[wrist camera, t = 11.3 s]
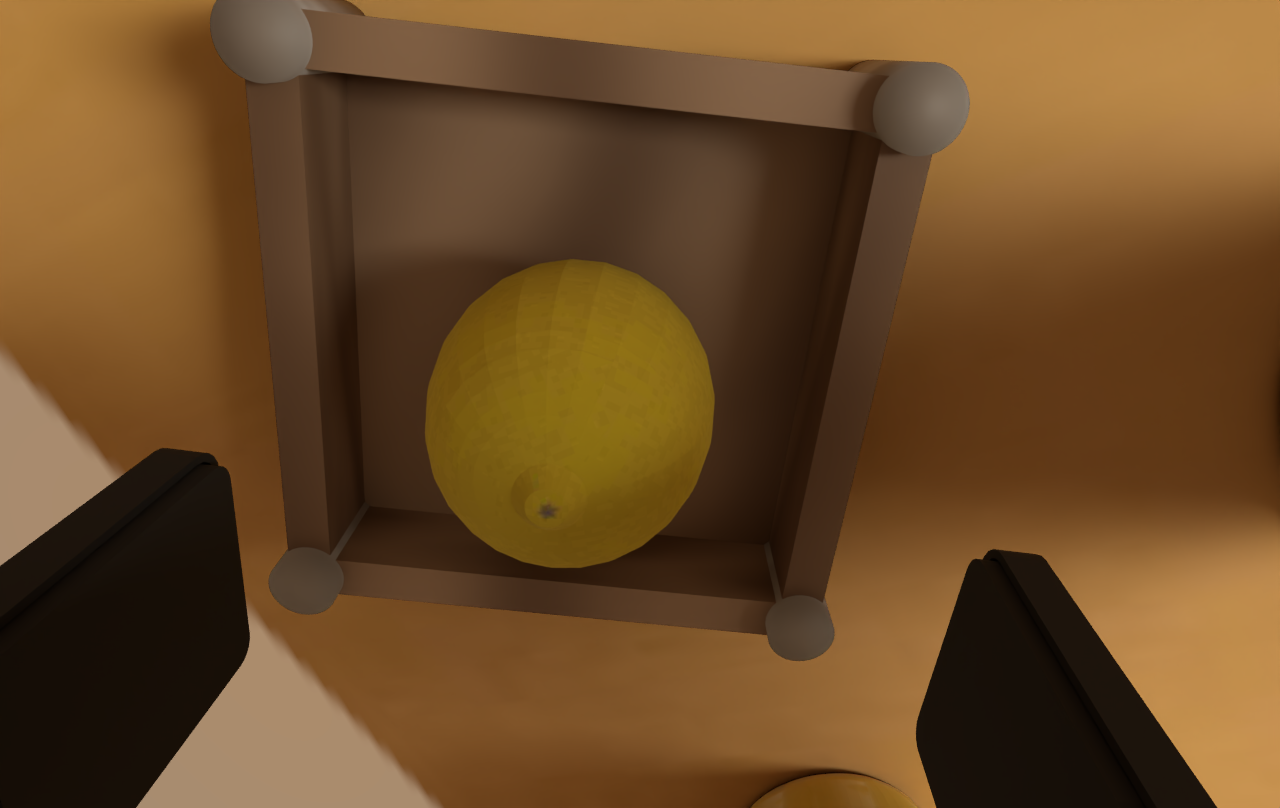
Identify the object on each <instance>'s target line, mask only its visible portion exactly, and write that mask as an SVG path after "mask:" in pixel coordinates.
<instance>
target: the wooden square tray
mask: <svg viewBox="0 0 1280 808" xmlns="http://www.w3.org/2000/svg"><path fill="white" fill-rule="evenodd" d="M210 30H211V36H212V40H213V43H214V46H215V48H216V50H217V52H218V54H219V56H220V57H221V59H222V60H223V61H224V63H225V64H226V65H227V66H228V67H229V68H230V69H231V70H232V71H233V72H235V73H236V74H237V75H239V76H241V77H242V78H244V79H245V82H246V93H247V104H248V115H249V126H250V137H251V148H252V159H253V170H254V181H255V192H256V203H257V213H258V224H259V235H260V246H261V257H262V268H263V279H264V290H265V301H266V312H267V323H268V334H269V345H270V356H271V367H272V378H273V389H274V400H275V411H276V422H277V433H278V444H279V455H280V466H281V477H282V488H283V499H284V510H285V521H286V532H287V543H288V550H287V551H286V552H285V554H284V555H283V556H282V558H281V559H280V560H279V562H278V563H277V564H276V566H275V567H274V569H273V570H272V571H271V573H270V576H269V588H270V591H271V593H272V595H273V597H274V598H275V599H276V600H277V602H279V603H280V604H281V605H282V606H283V607H285V608H287V609H288V610H291V611H293V612H296V613H300V614H308V615H310V614H318V613H321V612H323V611H325V610H327V609H328V608H329V607H330V606H331V605H332V604H333V602H334V601H335V599H336V597H337V595H338V594H344V595H354V596H365V597H375V598H386V599H396V600H407V601H417V602H428V603H438V604H449V605H459V606H469V607H480V608H490V609H501V610H511V611H522V612H532V613H543V614H553V615H564V616H574V617H585V618H595V619H605V620H616V621H626V622H637V623H647V624H658V625H668V626H679V627H689V628H700V629H710V630H721V631H731V632H742V633H752V634H762V635H767V636H768V641H769V644H770V646H771V648H772V649H773V651H774V652H775V653H776V654H778V655H779V656H781V657H783V658H785V659H788V660H793V661H805V660H810V659H813V658H816V657H818V656H820V655H821V654H823V653H824V652H825V651H826V650H827V649H828V648H829V647H830V646H831V644H832V642H833V639H834V627H833V623H832V620H831V617H830V614H829V610H828V607H827V604H826V601H825V597H824V596H825V592H826V588H827V584H828V579H829V575H830V571H831V567H832V563H833V559H834V555H835V551H836V547H837V542H838V538H839V534H840V530H841V526H842V522H843V518H844V514H845V510H846V506H847V501H848V497H849V493H850V489H851V485H852V481H853V477H854V473H855V469H856V465H857V460H858V456H859V452H860V448H861V444H862V440H863V436H864V432H865V428H866V424H867V419H868V415H869V411H870V407H871V403H872V399H873V395H874V391H875V387H876V383H877V378H878V374H879V370H880V366H881V362H882V358H883V354H884V350H885V346H886V341H887V337H888V333H889V329H890V325H891V321H892V317H893V313H894V309H895V305H896V300H897V296H898V292H899V288H900V284H901V280H902V276H903V272H904V268H905V264H906V259H907V255H908V251H909V247H910V243H911V239H912V235H913V231H914V227H915V223H916V218H917V214H918V210H919V206H920V202H921V198H922V194H923V190H924V186H925V182H926V177H927V173H928V169H929V165H930V161H931V157H932V154H934V153H937V152H939V151H941V150H942V149H944V148H945V147H947V146H948V145H949V144H951V143H952V142H953V141H954V140H955V139H956V137H957V136H958V135H959V134H960V132H961V130H962V129H963V127H964V125H965V123H966V120H967V117H968V113H969V105H970V101H969V93H968V89H967V86H966V84H965V82H964V80H963V79H962V77H961V76H960V75H959V74H958V73H957V72H956V71H955V70H954V69H952V68H951V67H949V66H947V65H944V64H941V63H936V62H913V61H889V60H868V61H864V62H861V63H859V64H857V65H855V66H853V67H852V68H851V69H850V70H848V71H842V70H833V69H824V68H815V67H806V66H798V65H789V64H780V63H771V62H763V61H754V60H745V59H736V58H728V57H719V56H710V55H701V54H692V53H684V52H675V51H666V50H657V49H649V48H640V47H631V46H622V45H613V44H605V43H596V42H587V41H578V40H570V39H561V38H552V37H543V36H534V35H526V34H517V33H508V32H499V31H491V30H482V29H473V28H464V27H456V26H447V25H438V24H429V23H420V22H412V21H403V20H394V19H385V18H377V17H368V16H365V15H364V14H363V12H362V11H361V10H360V9H359V8H357V7H356V6H355V5H353V4H352V3H350V2H348V1H346V0H216V2H215V4H214V6H213V9H212V13H211V18H210ZM568 259H578V260H587V261H597V262H606V263H609V264H611V265H614V266H617V267H620V268H623V269H625V270H628V271H631V272H634V273H636V274H638V275H640V276H641V277H643V278H644V279H646V280H647V281H649V282H650V283H651V284H653V285H654V286H656V287H657V288H659V289H660V290H662V291H663V292H665V293H666V295H667V296H668V297H669V298H670V299H671V300H672V301H673V302H674V304H675V305H676V306H677V307H678V308H679V309H680V310H681V312H682V313H683V314H684V315H685V316H686V317H687V318H688V320H689V321H690V323H691V325H692V327H693V329H694V331H695V333H696V335H697V337H698V339H699V341H700V343H701V345H702V347H703V349H704V351H705V353H706V355H707V359H708V364H709V369H710V375H711V380H712V385H713V390H714V397H715V403H714V416H713V429H712V438H711V444H710V447H709V450H708V453H707V456H706V459H705V461H704V464H703V467H702V470H701V472H700V475H699V478H698V481H697V483H696V485H695V487H694V489H693V491H692V493H691V494H690V496H689V497H688V499H687V500H686V501H685V503H684V504H683V505H682V507H681V508H680V510H679V511H678V512H677V514H676V515H675V516H674V518H673V519H672V521H671V522H670V523H669V524H668V525H667V526H666V527H665V528H663V529H662V530H661V531H660V532H659V533H657V534H656V535H655V536H654V537H652V538H651V539H650V540H649V541H648V542H646V543H645V544H644V545H643V546H641V547H639V548H637V549H635V550H633V551H631V552H629V553H627V554H625V555H623V556H621V557H619V558H616V559H614V560H612V561H609V562H605V563H600V564H595V565H591V566H586V567H582V568H550V567H545V566H540V565H535V564H530V563H525V562H522V561H520V560H517V559H515V558H513V557H510V556H508V555H506V554H503V553H501V552H499V551H497V550H495V549H494V548H492V547H491V546H489V545H488V544H487V543H485V542H484V541H483V540H481V539H480V538H478V537H477V536H476V535H474V534H473V533H472V532H471V531H470V530H469V529H468V528H467V527H466V525H465V524H464V523H463V522H462V521H461V520H460V519H459V517H458V516H457V515H456V514H455V513H454V512H453V511H452V509H451V508H450V507H449V506H448V504H447V502H446V500H445V498H444V496H443V494H442V492H441V490H440V489H439V487H438V485H437V483H436V481H435V479H434V475H433V472H432V468H431V463H430V459H429V454H428V450H427V445H426V440H425V423H426V404H427V391H428V386H429V382H430V379H431V376H432V373H433V370H434V368H435V365H436V362H437V359H438V356H439V353H440V350H441V348H442V345H443V343H444V341H445V339H446V338H447V336H448V335H449V333H450V332H451V330H452V329H453V328H454V326H455V325H456V323H457V322H458V321H459V319H460V318H461V317H462V315H463V314H464V312H465V311H466V310H467V308H468V307H469V306H470V305H471V304H472V303H473V302H474V301H475V300H477V299H478V298H479V297H481V296H482V295H483V294H484V293H486V292H487V291H488V290H489V289H491V288H492V287H493V286H494V285H496V284H497V283H498V282H499V281H501V280H502V279H504V278H506V277H508V276H511V275H513V274H515V273H518V272H520V271H522V270H525V269H527V268H529V267H532V266H534V265H536V264H540V263H547V262H554V261H561V260H568Z"/></svg>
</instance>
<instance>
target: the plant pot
mask: <svg viewBox="0 0 1280 808" xmlns="http://www.w3.org/2000/svg"><path fill="white" fill-rule="evenodd" d="M751 808H918V807H917V805H916V804H915V803H914V802H913V801H912V800H911V799H910V798H909V797H907V796H906V795H905V794H904V793H902V792H901V791H899V790H898V789H896V788H894V787H893V786H891V785H889V784H887V783H884V782H882V781H879V780H876V779H874V778H871V777H867V776H862V775H857V774H845V773H831V774H821V775H813V776H808V777H804V778H800V779H797V780H794V781H791V782H788V783H786V784H783V785H781V786H779V787H777V788H775V789H773V790H772V791H770V792H768V793H767V794H765V795H764V796H763V797H761V798H760V799H759V800H758V801H757V802H755V803H754V804H753V805H752V806H751Z"/></svg>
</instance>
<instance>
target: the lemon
mask: <svg viewBox="0 0 1280 808" xmlns="http://www.w3.org/2000/svg"><path fill="white" fill-rule="evenodd" d="M714 403H715V397H714V390H713V385H712V380H711V375H710V369H709V364H708V359H707V355H706V353H705V351H704V349H703V347H702V345H701V343H700V341H699V339H698V337H697V335H696V333H695V331H694V329H693V327H692V325H691V323H690V321H689V320H688V318H687V317H686V316H685V315H684V314H683V313H682V312H681V310H680V309H679V308H678V307H677V306H676V305H675V304H674V302H673V301H672V300H671V299H670V298H669V297H668V296H667V295H666V293H665V292H663V291H662V290H660V289H659V288H657V287H656V286H654V285H653V284H651V283H650V282H649V281H647V280H646V279H644V278H643V277H641V276H640V275H638V274H636V273H634V272H631V271H628V270H625V269H623V268H620V267H617V266H614V265H611V264H609V263H606V262H597V261H587V260H578V259H568V260H561V261H554V262H547V263H540V264H536V265H534V266H532V267H529V268H527V269H525V270H522V271H520V272H518V273H515V274H513V275H511V276H508V277H506V278H504V279H502V280H501V281H499V282H498V283H497V284H496V285H494V286H493V287H492V288H491V289H489V290H488V291H487V292H486V293H484V294H483V295H482V296H481V297H479V298H478V299H477V300H475V301H474V302H473V303H472V304H471V305H470V306H469V307H468V308H467V310H466V311H465V312H464V314H463V315H462V317H461V318H460V319H459V321H458V322H457V323H456V325H455V326H454V328H453V329H452V330H451V332H450V333H449V335H448V336H447V338H446V339H445V341H444V343H443V345H442V348H441V350H440V353H439V356H438V359H437V362H436V365H435V368H434V370H433V373H432V376H431V379H430V382H429V386H428V391H427V404H426V423H425V440H426V445H427V450H428V454H429V459H430V463H431V468H432V472H433V475H434V479H435V481H436V483H437V485H438V487H439V489H440V490H441V492H442V494H443V496H444V498H445V500H446V502H447V504H448V506H449V507H450V508H451V509H452V511H453V512H454V513H455V514H456V515H457V516H458V517H459V519H460V520H461V521H462V522H463V523H464V524H465V525H466V527H467V528H468V529H469V530H470V531H471V532H472V533H473V534H474V535H476V536H477V537H478V538H480V539H481V540H483V541H484V542H485V543H487V544H488V545H489V546H491V547H492V548H494V549H495V550H497V551H499V552H501V553H503V554H506V555H508V556H510V557H513V558H515V559H517V560H520V561H522V562H525V563H530V564H535V565H540V566H545V567H550V568H582V567H586V566H591V565H595V564H600V563H605V562H609V561H612V560H614V559H616V558H619V557H621V556H623V555H625V554H627V553H629V552H631V551H633V550H635V549H637V548H639V547H641V546H643V545H644V544H645V543H646V542H648V541H649V540H650V539H651V538H652V537H654V536H655V535H656V534H657V533H659V532H660V531H661V530H662V529H663V528H665V527H666V526H667V525H668V524H669V523H670V522H671V521H672V519H673V518H674V516H675V515H676V514H677V512H678V511H679V510H680V508H681V507H682V505H683V504H684V503H685V501H686V500H687V499H688V497H689V496H690V494H691V493H692V491H693V489H694V487H695V485H696V483H697V481H698V478H699V475H700V472H701V470H702V467H703V464H704V461H705V459H706V456H707V453H708V450H709V447H710V444H711V438H712V429H713V416H714Z"/></svg>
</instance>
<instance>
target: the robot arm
mask: <svg viewBox="0 0 1280 808" xmlns="http://www.w3.org/2000/svg"><path fill="white" fill-rule="evenodd" d="M249 641H250V632H249V624H248V616H247V608H246V600H245V592H244V584H243V576H242V568H241V559H240V551H239V543H238V535H237V527H236V519H235V511H234V503H233V495H232V487H231V479H230V475H229V472H228V471H227V469H226V468H224V467H222V466H218V462H217V461H216V459H215V457H214V456H212V455H211V454H209V453H201V452H193V451H185V450H177V449H169V448H161V449H159V450H157V451H155V452H153V453H152V454H151V455H149V456H148V457H146V458H145V459H144V460H142V461H141V462H140V463H138V464H137V465H136V466H134V467H133V468H132V469H130V470H129V471H128V472H126V473H125V474H124V475H122V476H121V477H120V478H118V479H117V480H116V481H114V482H113V483H111V484H110V485H109V486H107V487H106V488H105V489H103V490H102V491H101V492H99V493H98V494H97V495H95V496H94V497H93V498H92V499H90V500H89V501H87V502H86V503H85V504H83V505H82V506H81V507H79V508H78V509H76V510H75V511H74V512H72V513H71V514H70V515H68V516H67V517H66V518H64V519H63V520H62V521H60V522H59V523H58V524H56V525H55V526H54V527H52V528H51V529H49V530H48V531H47V532H45V533H44V534H43V535H41V536H40V537H39V538H37V539H36V540H35V541H33V542H32V543H31V544H29V545H28V546H27V547H25V548H24V549H23V550H21V551H20V552H19V553H17V554H16V555H15V556H13V557H12V558H11V559H9V560H8V561H6V562H5V563H4V564H2V565H1V566H0V808H136V807H137V806H138V804H139V803H140V802H141V800H142V799H143V798H144V796H145V795H146V793H147V792H148V791H149V789H150V788H151V787H152V785H153V784H154V783H155V781H156V780H157V779H158V777H159V776H160V774H161V773H162V772H163V770H164V769H165V768H166V766H167V765H168V764H169V762H170V761H171V760H172V758H173V757H174V756H175V754H176V753H177V752H178V750H179V749H180V747H181V746H182V745H183V743H184V742H185V741H186V739H187V738H188V737H189V735H190V734H191V732H192V731H193V730H194V728H195V727H196V726H197V724H198V723H199V722H200V720H201V719H202V717H203V716H204V715H205V713H206V712H207V711H208V709H209V708H210V707H211V705H212V704H213V702H214V701H215V700H216V699H217V697H218V696H219V694H220V693H221V692H222V690H223V689H224V688H225V686H226V685H227V684H228V682H229V681H230V680H231V678H232V677H233V676H234V674H235V673H236V671H237V670H238V669H239V667H240V666H241V664H242V663H243V661H244V659H245V656H246V654H247V651H248V647H249ZM916 741H917V747H918V752H919V755H920V758H921V761H922V764H923V767H924V770H925V773H926V777H927V780H928V783H929V786H930V789H931V792H932V795H933V798H934V801H935V805H936V808H1217V807H1216V805H1215V804H1214V802H1213V801H1212V799H1211V798H1210V796H1209V795H1208V794H1207V792H1206V791H1205V789H1204V788H1203V786H1202V785H1201V784H1200V782H1199V781H1198V779H1197V778H1196V776H1195V775H1194V773H1193V772H1192V771H1191V769H1190V768H1189V766H1188V765H1187V763H1186V762H1185V760H1184V759H1183V758H1182V756H1181V755H1180V753H1179V752H1178V750H1177V749H1176V747H1175V746H1174V745H1173V743H1172V742H1171V740H1170V739H1169V737H1168V736H1167V734H1166V733H1165V732H1164V730H1163V729H1162V727H1161V726H1160V724H1159V723H1158V721H1157V720H1156V719H1155V717H1154V716H1153V714H1152V713H1151V711H1150V710H1149V708H1148V707H1147V706H1146V704H1145V703H1144V701H1143V700H1142V698H1141V697H1140V695H1139V694H1138V693H1137V691H1136V690H1135V688H1134V687H1133V685H1132V684H1131V682H1130V681H1129V680H1128V678H1127V677H1126V675H1125V674H1124V672H1123V671H1122V669H1121V668H1120V667H1119V665H1118V664H1117V662H1116V661H1115V659H1114V658H1113V656H1112V655H1111V654H1110V652H1109V651H1108V649H1107V648H1106V646H1105V645H1104V643H1103V642H1102V641H1101V639H1100V638H1099V636H1098V635H1097V633H1096V632H1095V630H1094V629H1093V628H1092V626H1091V625H1090V623H1089V622H1088V620H1087V619H1086V617H1085V616H1084V615H1083V613H1082V612H1081V610H1080V609H1079V607H1078V606H1077V604H1076V603H1075V602H1074V600H1073V599H1072V597H1071V596H1070V594H1069V593H1068V591H1067V590H1066V589H1065V587H1064V586H1063V584H1062V583H1061V581H1060V580H1059V578H1058V577H1057V576H1056V574H1055V573H1054V571H1053V570H1052V568H1051V567H1050V565H1049V564H1048V563H1047V561H1046V560H1045V559H1044V558H1043V557H1042V556H1040V555H1036V554H1029V553H1020V552H1012V551H1004V550H996V549H992V550H990V551H988V552H987V554H986V555H985V556H984V558H983V560H982V559H974V560H972V561H971V563H970V564H969V566H968V568H967V571H966V574H965V577H964V580H963V583H962V586H961V589H960V592H959V595H958V598H957V601H956V604H955V607H954V610H953V613H952V616H951V619H950V622H949V626H948V629H947V632H946V635H945V638H944V641H943V644H942V647H941V650H940V653H939V656H938V659H937V662H936V665H935V668H934V671H933V674H932V677H931V680H930V683H929V686H928V689H927V692H926V695H925V698H924V701H923V704H922V707H921V710H920V713H919V716H918V720H917V727H916Z"/></svg>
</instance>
